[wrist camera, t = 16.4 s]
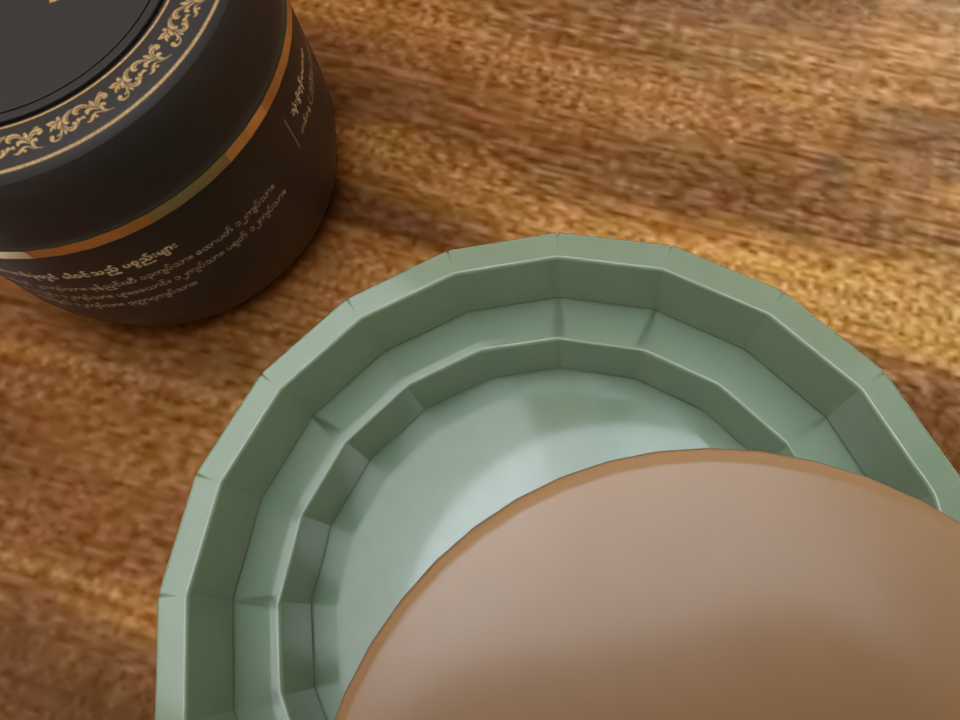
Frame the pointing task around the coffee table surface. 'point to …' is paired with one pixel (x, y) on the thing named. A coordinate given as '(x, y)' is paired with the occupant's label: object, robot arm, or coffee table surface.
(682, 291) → the bowl
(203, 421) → the coffee table surface
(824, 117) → the coffee table surface
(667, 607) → the muddler
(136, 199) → the jar
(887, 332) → the coffee table surface
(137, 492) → the coffee table surface
